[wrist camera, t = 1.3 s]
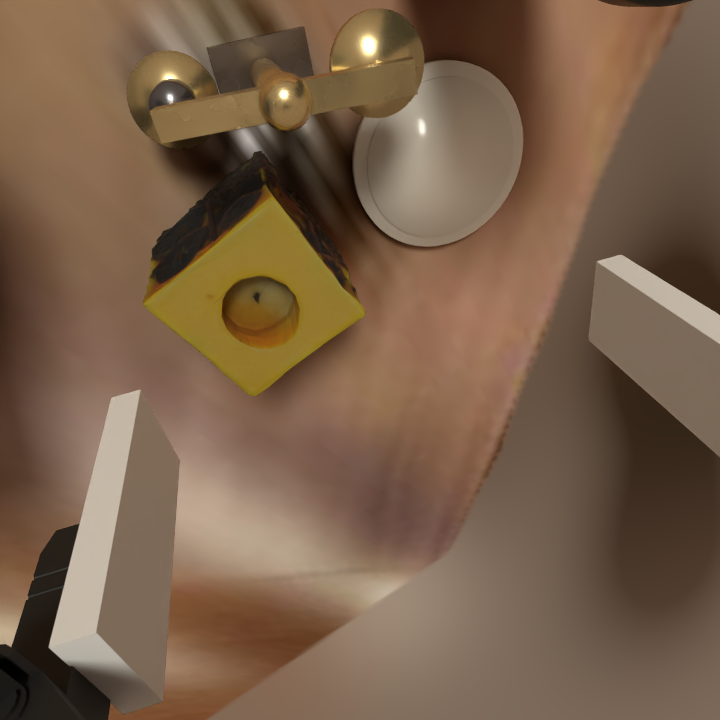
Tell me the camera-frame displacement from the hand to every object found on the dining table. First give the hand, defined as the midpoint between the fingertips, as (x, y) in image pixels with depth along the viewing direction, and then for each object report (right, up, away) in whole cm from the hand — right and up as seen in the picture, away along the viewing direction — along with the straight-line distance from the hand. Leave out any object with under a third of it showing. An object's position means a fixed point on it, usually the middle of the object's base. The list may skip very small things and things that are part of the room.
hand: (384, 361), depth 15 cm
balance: (-7, +18, +19) cm, 27 cm away
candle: (-9, +9, +25) cm, 28 cm away
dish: (+5, +15, +24) cm, 29 cm away
